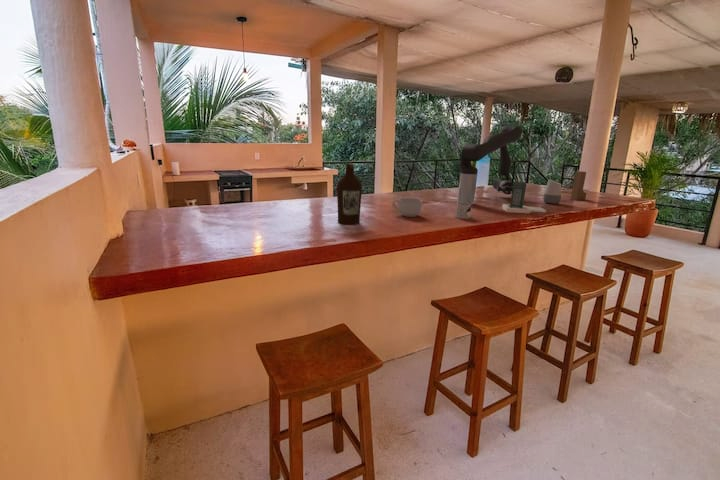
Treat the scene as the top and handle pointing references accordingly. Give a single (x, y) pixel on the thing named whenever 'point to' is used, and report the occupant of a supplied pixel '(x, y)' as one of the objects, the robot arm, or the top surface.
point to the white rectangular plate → (536, 209)
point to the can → (518, 195)
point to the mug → (463, 210)
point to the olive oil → (349, 197)
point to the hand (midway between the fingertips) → (513, 191)
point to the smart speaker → (552, 192)
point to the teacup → (408, 206)
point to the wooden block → (578, 186)
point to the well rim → (516, 209)
